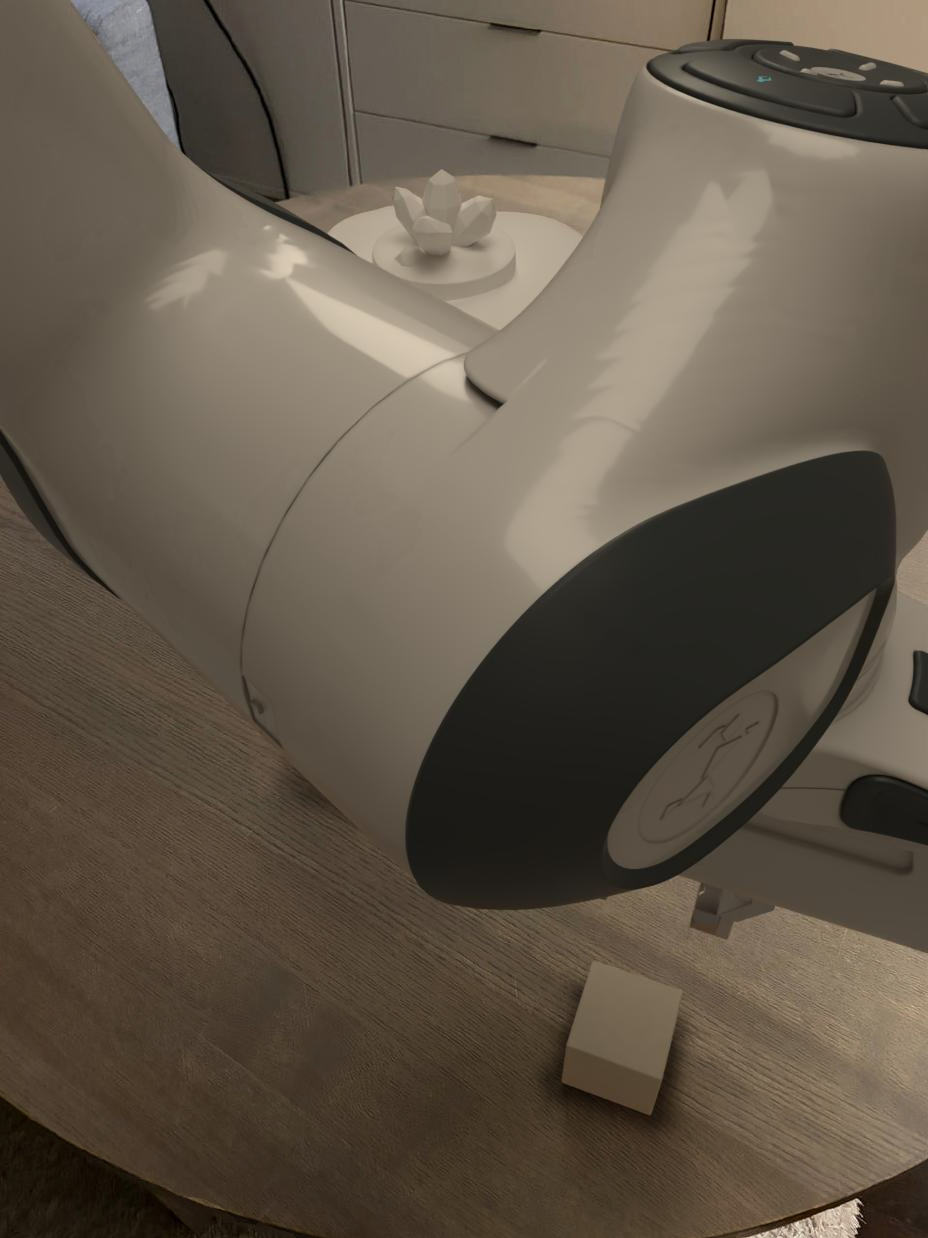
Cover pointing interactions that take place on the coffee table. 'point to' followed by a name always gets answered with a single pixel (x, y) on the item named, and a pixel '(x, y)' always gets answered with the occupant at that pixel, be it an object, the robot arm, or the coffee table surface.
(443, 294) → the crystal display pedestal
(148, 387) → the robot arm
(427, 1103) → the coffee table surface
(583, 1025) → the block
